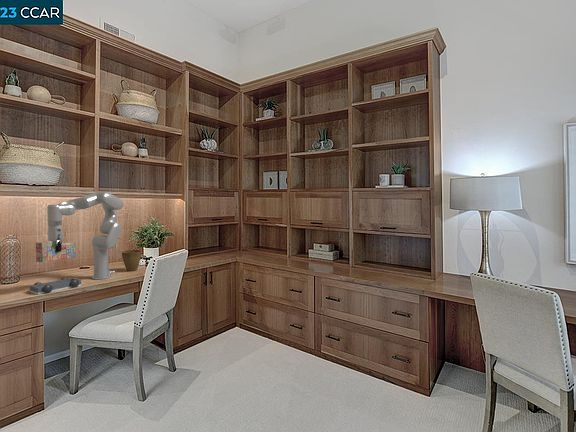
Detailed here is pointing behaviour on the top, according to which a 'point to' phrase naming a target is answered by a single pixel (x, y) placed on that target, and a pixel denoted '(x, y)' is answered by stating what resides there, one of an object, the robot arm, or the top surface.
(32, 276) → the top surface
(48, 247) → the stack of blocks
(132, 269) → the plant pot
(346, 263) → the top surface
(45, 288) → the chassis
